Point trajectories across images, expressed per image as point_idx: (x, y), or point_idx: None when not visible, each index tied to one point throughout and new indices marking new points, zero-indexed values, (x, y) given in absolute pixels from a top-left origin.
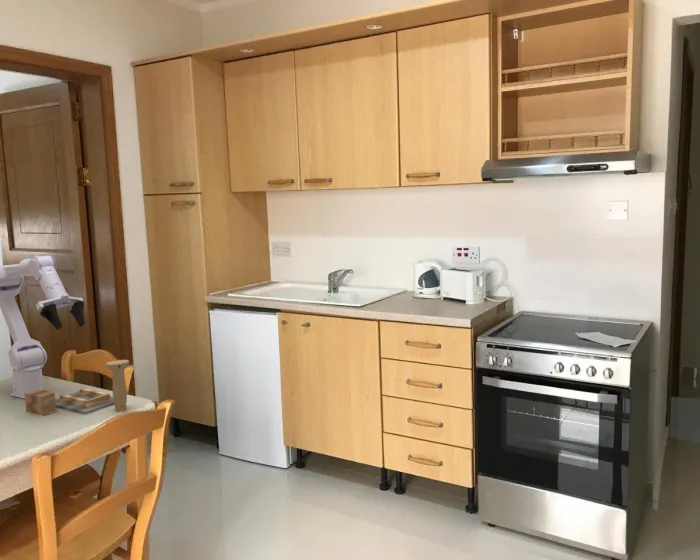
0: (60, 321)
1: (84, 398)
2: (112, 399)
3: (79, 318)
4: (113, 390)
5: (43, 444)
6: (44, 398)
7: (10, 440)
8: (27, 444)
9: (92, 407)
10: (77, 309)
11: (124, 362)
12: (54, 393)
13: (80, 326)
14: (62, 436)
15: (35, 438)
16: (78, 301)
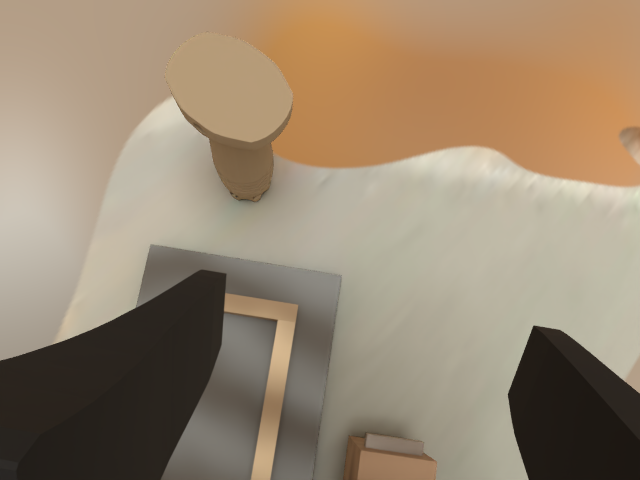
0: (565, 354)
1: (196, 422)
2: (172, 284)
3: (187, 359)
4: (270, 161)
5: (607, 194)
6: (413, 456)
7: (635, 332)
8: (630, 244)
9: (287, 288)
10: (119, 432)
11: (221, 45)
12: (360, 450)
13: (221, 336)
14: (534, 189)
15: (585, 262)
16: (7, 438)
